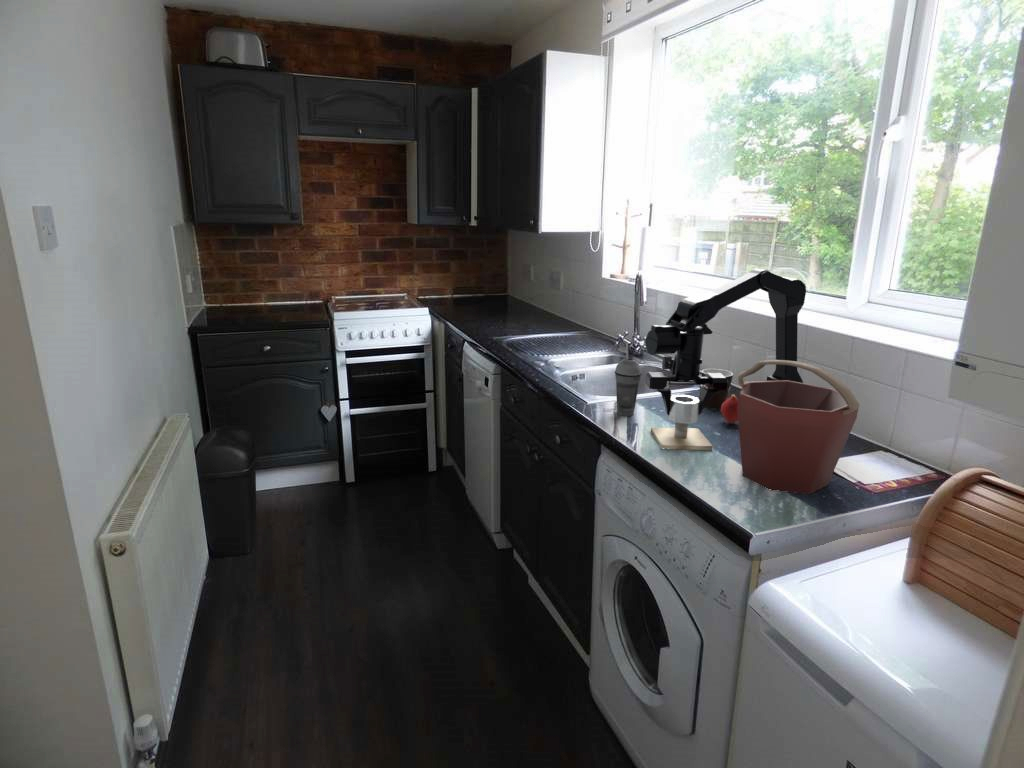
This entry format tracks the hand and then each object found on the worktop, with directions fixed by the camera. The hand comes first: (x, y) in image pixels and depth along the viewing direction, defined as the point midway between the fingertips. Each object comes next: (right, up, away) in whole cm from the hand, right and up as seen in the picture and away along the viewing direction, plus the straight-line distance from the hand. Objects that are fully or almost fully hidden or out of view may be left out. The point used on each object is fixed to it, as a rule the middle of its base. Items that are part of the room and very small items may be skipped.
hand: (683, 414), depth 152 cm
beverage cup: (-10, -1, +21) cm, 23 cm away
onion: (+17, -3, +15) cm, 22 cm away
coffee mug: (+18, +1, +30) cm, 35 cm away
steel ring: (0, -1, 0) cm, 1 cm away
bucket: (+17, -13, -17) cm, 27 cm away
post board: (0, -6, +2) cm, 7 cm away
